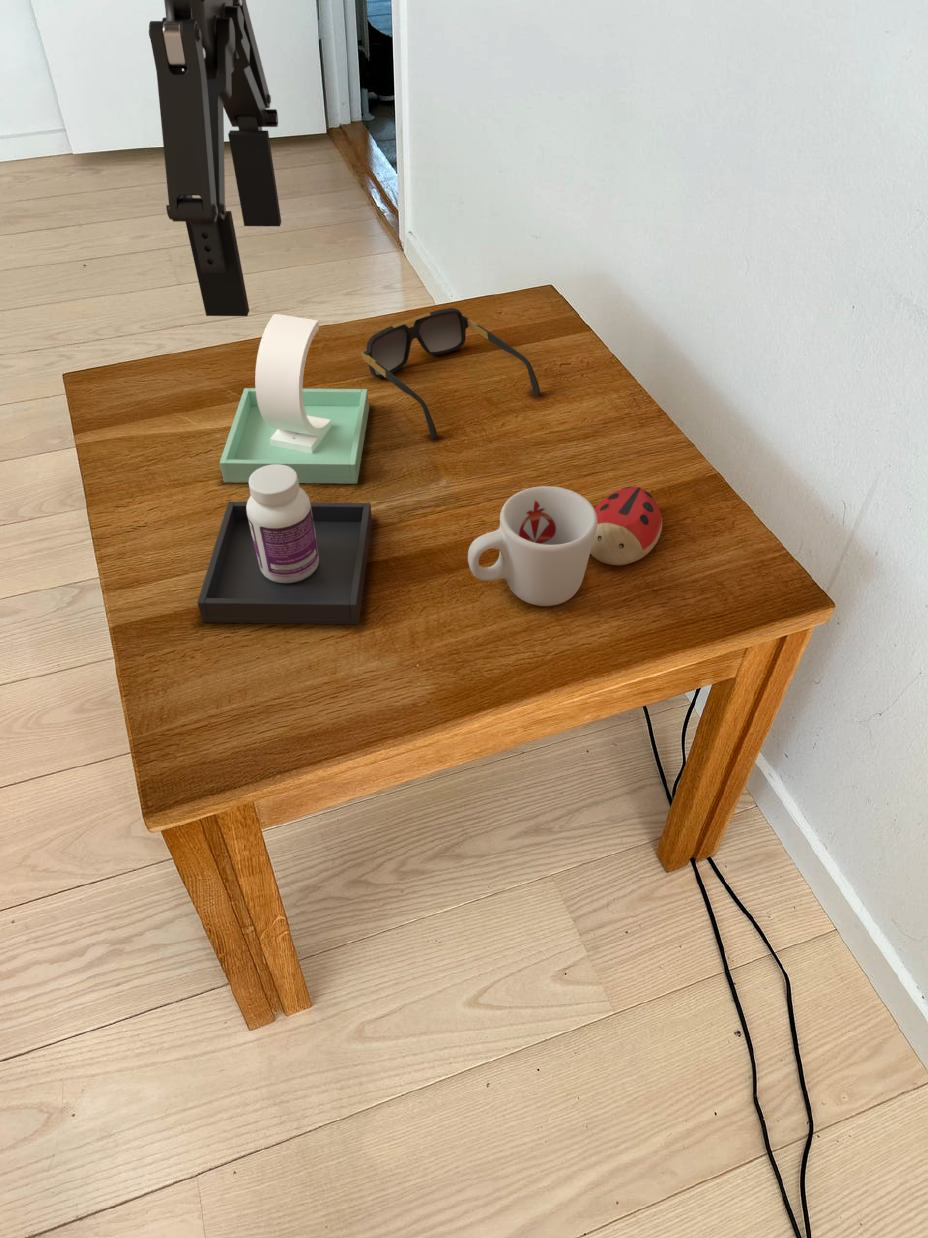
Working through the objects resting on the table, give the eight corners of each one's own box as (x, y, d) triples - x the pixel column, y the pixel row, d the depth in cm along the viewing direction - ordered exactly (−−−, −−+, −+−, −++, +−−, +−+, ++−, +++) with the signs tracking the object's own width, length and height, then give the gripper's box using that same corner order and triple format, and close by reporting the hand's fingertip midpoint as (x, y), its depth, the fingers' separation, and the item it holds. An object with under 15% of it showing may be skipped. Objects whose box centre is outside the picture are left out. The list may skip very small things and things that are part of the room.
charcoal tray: (202, 622, 78) (197, 602, 77) (232, 521, 87) (228, 501, 86) (358, 624, 78) (356, 604, 76) (372, 522, 87) (370, 502, 85)
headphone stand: (331, 426, 97) (318, 320, 88) (307, 459, 93) (291, 352, 84) (291, 418, 98) (274, 313, 89) (266, 451, 94) (245, 344, 85)
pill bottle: (332, 558, 83) (319, 471, 76) (294, 594, 80) (277, 507, 73) (285, 537, 85) (269, 450, 78) (246, 571, 82) (226, 484, 75)
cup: (481, 632, 77) (482, 562, 72) (456, 569, 83) (455, 499, 77) (602, 607, 79) (612, 537, 74) (570, 547, 85) (577, 477, 79)
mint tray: (223, 482, 91) (219, 462, 90) (248, 406, 101) (244, 387, 99) (357, 483, 91) (355, 464, 89) (369, 407, 100) (367, 388, 99)
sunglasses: (434, 440, 96) (433, 399, 93) (358, 376, 105) (355, 335, 101) (539, 396, 102) (542, 356, 98) (459, 339, 110) (459, 299, 107)
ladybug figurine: (570, 558, 84) (574, 529, 81) (603, 495, 90) (608, 465, 87) (642, 579, 82) (648, 549, 79) (671, 513, 88) (677, 483, 85)
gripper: (197, -65, 41) (270, 359, 57) (283, -149, 59) (321, 193, 74) (31, -65, 42) (149, 358, 57) (165, -149, 59) (228, 193, 74)
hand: (246, 266), depth 65 cm, fingers open, 13 cm apart
